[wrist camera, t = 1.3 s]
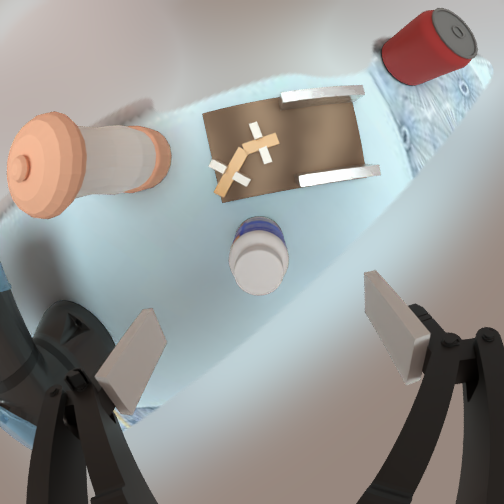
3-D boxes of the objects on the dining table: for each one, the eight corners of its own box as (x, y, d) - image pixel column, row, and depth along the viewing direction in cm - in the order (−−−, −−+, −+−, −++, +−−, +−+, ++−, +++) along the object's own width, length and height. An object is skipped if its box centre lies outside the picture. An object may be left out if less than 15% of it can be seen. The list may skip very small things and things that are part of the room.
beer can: (432, 76, 23) (490, 55, 11) (402, 94, 24) (462, 71, 13) (402, 35, 21) (450, -1, 10) (369, 50, 23) (415, 8, 11)
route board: (223, 201, 29) (222, 203, 28) (204, 115, 26) (202, 113, 25) (363, 176, 28) (366, 177, 27) (346, 92, 25) (349, 90, 24)
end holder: (295, 183, 27) (301, 187, 24) (278, 101, 25) (280, 92, 21) (366, 173, 27) (380, 175, 23) (350, 94, 24) (362, 85, 20)
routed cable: (216, 198, 28) (212, 201, 26) (203, 137, 26) (197, 135, 24) (287, 184, 28) (289, 186, 25) (274, 121, 25) (274, 117, 23)
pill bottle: (233, 217, 30) (220, 242, 21) (282, 214, 30) (291, 238, 20) (237, 263, 32) (227, 304, 22) (284, 260, 31) (292, 301, 22)
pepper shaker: (106, 158, 28) (-21, 173, 10) (147, 116, 26) (25, 83, 8) (139, 202, 30) (19, 255, 12) (184, 161, 28) (73, 166, 10)
